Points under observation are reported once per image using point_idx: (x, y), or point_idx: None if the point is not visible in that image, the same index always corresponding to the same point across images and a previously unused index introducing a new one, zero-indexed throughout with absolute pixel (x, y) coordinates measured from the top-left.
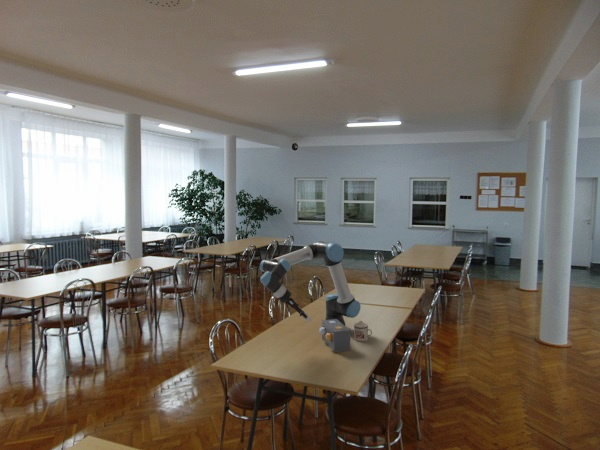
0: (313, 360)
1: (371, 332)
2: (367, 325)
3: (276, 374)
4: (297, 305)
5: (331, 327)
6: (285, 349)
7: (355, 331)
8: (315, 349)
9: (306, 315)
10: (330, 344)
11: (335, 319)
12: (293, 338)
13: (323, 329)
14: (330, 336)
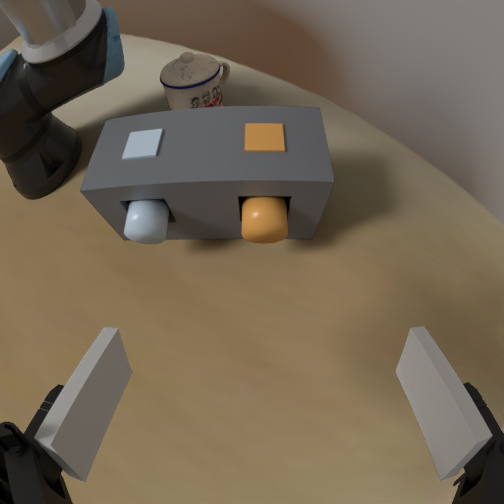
0: (390, 360)
1: (229, 67)
2: (207, 55)
3: None
4: (17, 436)
5: (238, 169)
6: (207, 462)
7: (195, 100)
8: (253, 316)
9: (458, 397)
10: None
11: (110, 125)
12: (73, 368)
13: (157, 215)
14: (284, 212)
